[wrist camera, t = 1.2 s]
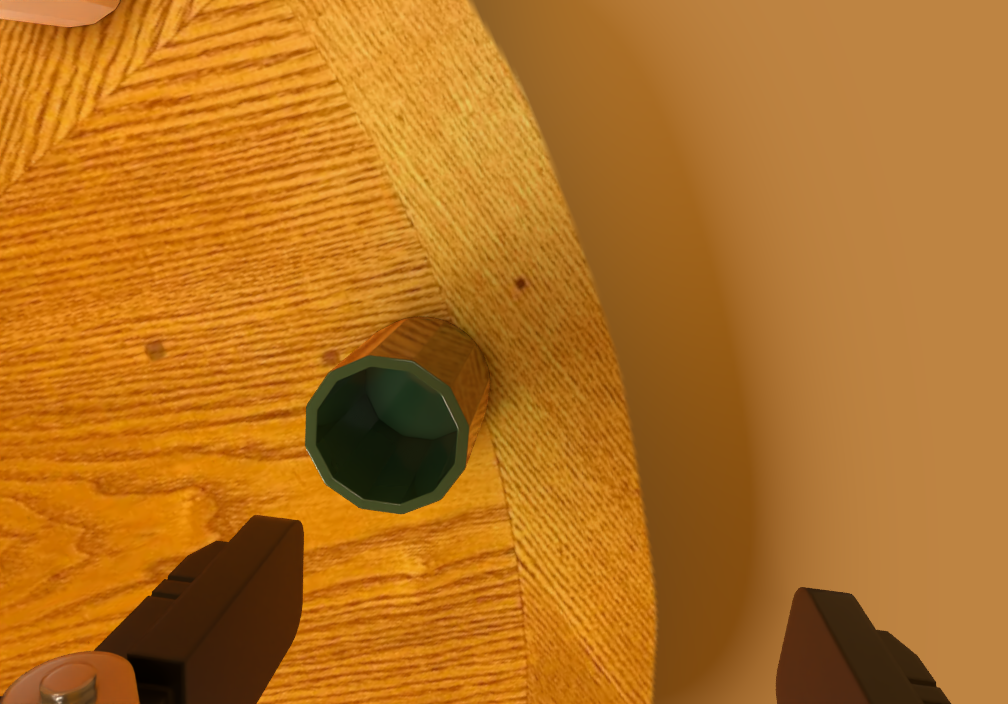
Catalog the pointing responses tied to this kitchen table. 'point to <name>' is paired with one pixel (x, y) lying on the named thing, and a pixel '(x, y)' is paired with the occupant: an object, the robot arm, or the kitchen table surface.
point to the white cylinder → (57, 11)
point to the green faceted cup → (399, 415)
